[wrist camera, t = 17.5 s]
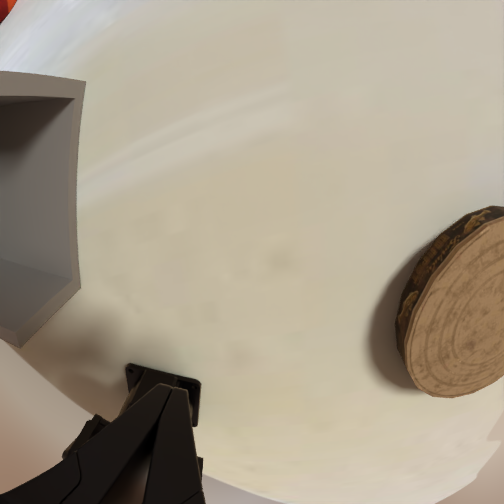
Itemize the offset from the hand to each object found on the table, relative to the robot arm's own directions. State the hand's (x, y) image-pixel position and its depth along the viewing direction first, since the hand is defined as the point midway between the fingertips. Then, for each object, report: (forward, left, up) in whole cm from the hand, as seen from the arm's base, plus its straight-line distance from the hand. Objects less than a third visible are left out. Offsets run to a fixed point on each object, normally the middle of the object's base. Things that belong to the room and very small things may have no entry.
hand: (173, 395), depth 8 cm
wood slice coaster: (-1, -20, -12) cm, 24 cm away
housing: (+2, +20, -12) cm, 23 cm away
